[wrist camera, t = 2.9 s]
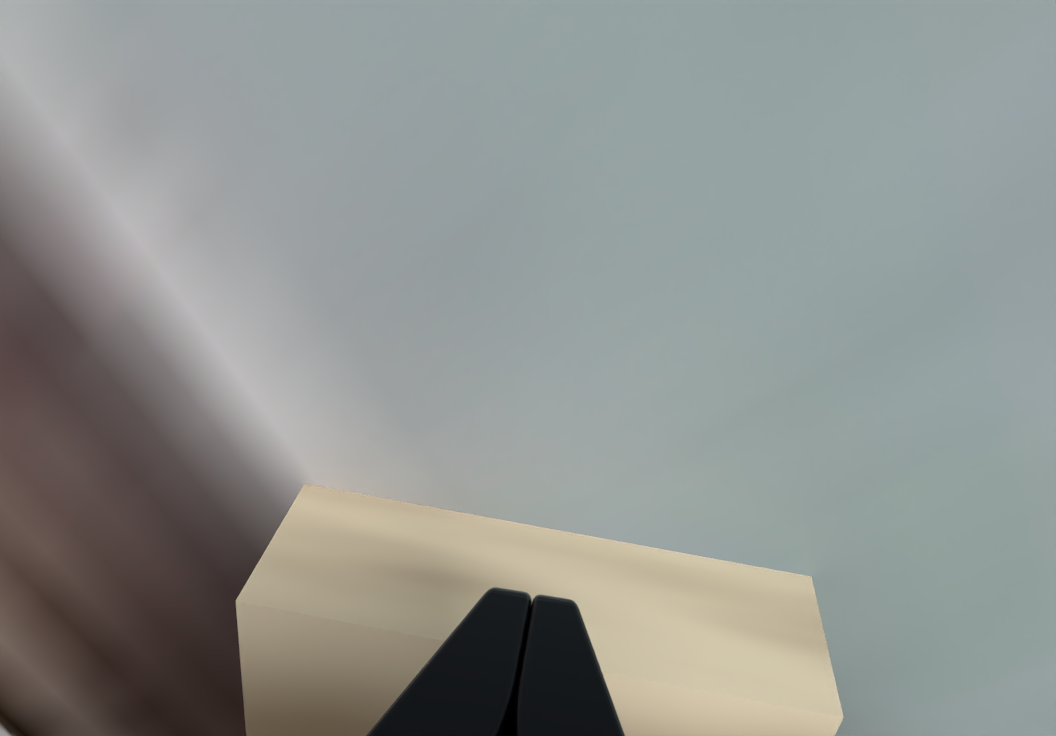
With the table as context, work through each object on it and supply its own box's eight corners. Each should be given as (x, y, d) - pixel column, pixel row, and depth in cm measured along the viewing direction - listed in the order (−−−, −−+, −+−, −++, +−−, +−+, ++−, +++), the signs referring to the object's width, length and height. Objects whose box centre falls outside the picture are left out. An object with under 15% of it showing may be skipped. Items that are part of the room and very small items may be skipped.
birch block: (722, 780, 20) (734, 939, 17) (313, 699, 20) (254, 839, 17) (808, 564, 16) (843, 717, 13) (310, 472, 17) (235, 600, 14)
